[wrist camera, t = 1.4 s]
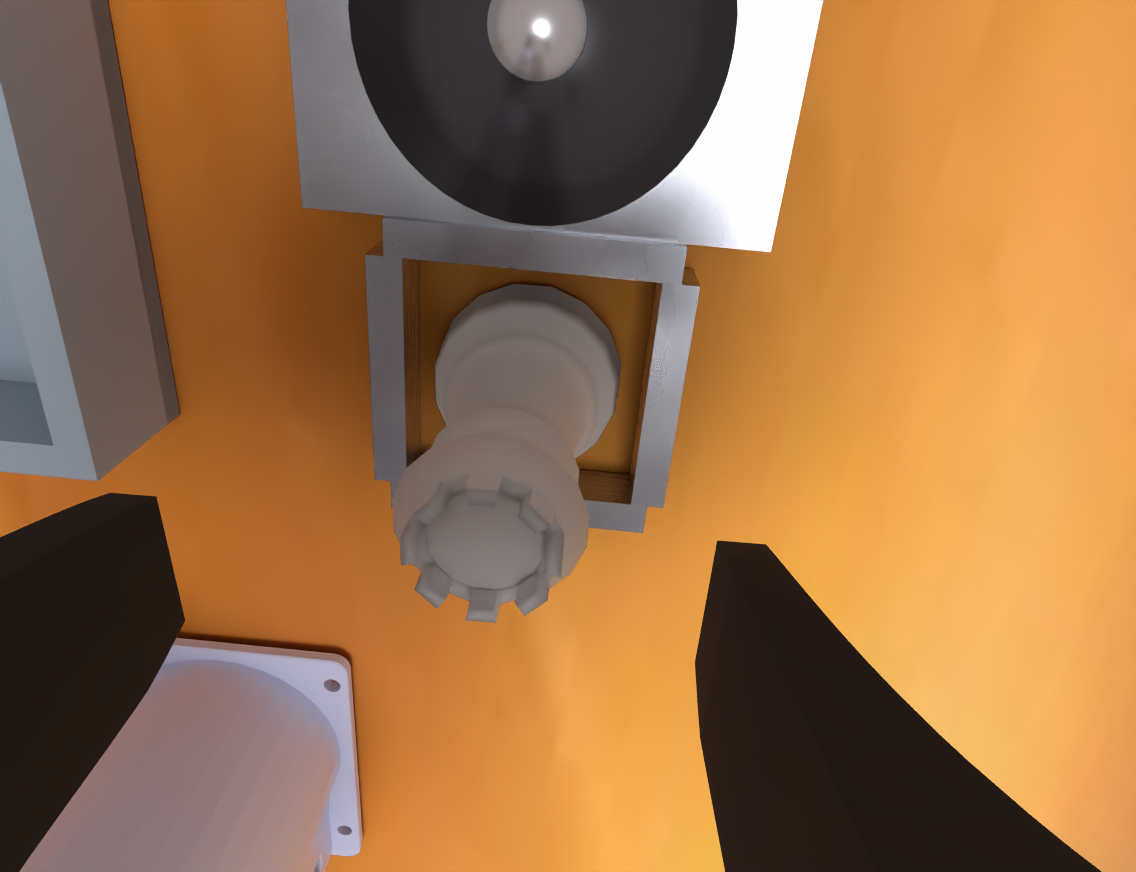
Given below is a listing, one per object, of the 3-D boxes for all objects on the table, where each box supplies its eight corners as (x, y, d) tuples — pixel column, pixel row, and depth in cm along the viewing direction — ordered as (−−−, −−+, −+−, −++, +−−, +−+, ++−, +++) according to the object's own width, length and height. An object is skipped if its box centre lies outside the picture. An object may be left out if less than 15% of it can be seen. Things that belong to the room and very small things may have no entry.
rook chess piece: (407, 333, 18) (275, 508, 11) (562, 242, 17) (528, 373, 10) (504, 471, 20) (444, 702, 13) (652, 397, 19) (679, 606, 11)
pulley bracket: (706, 507, 20) (725, 593, 17) (340, 472, 20) (288, 550, 17) (842, -174, 13) (917, -249, 10) (293, -223, 13) (193, -313, 10)
